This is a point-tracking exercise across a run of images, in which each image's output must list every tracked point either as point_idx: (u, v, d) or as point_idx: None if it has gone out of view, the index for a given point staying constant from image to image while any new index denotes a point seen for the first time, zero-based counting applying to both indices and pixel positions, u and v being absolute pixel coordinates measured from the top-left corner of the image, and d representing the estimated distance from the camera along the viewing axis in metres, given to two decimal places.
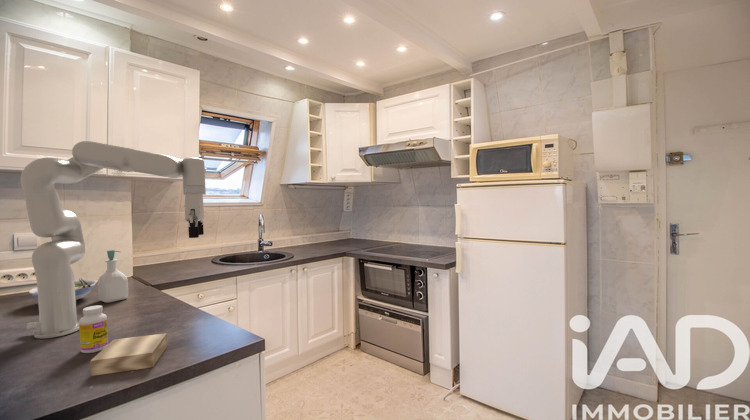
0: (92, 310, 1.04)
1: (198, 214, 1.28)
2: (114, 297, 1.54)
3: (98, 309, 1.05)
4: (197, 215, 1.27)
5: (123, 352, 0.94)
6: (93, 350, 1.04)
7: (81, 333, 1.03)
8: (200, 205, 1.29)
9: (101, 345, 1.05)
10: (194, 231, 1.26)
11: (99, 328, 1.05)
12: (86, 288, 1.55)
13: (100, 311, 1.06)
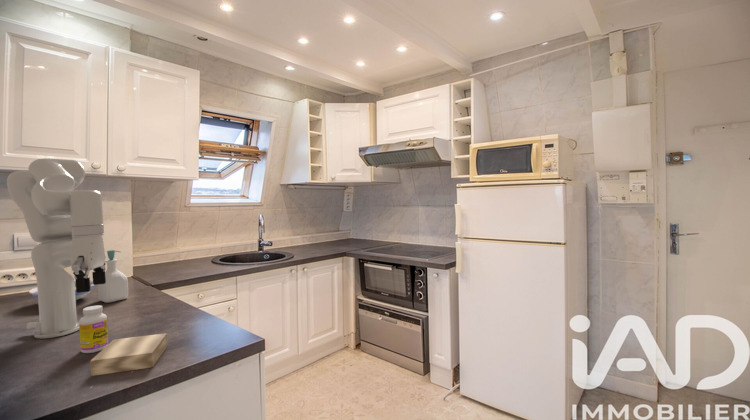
0: (92, 310, 1.04)
1: (89, 262, 1.01)
2: (114, 297, 1.54)
3: (98, 309, 1.05)
4: (87, 263, 1.01)
5: (123, 352, 0.94)
6: (93, 350, 1.04)
7: (81, 333, 1.03)
8: (93, 250, 1.03)
9: (101, 345, 1.05)
10: (83, 284, 1.00)
11: (99, 328, 1.05)
12: None
13: (100, 311, 1.06)
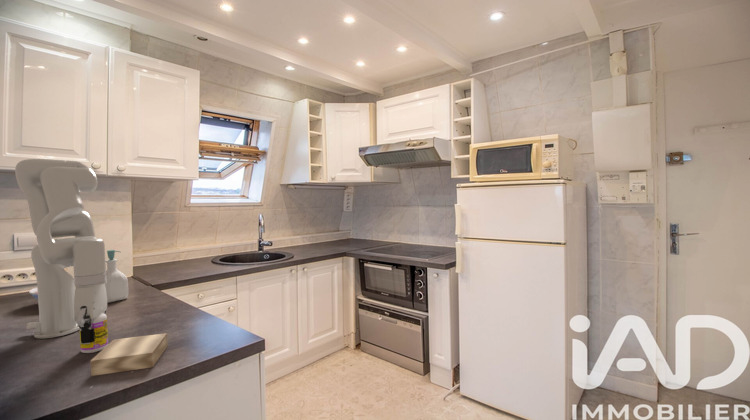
0: None
1: (92, 312, 1.02)
2: (114, 297, 1.54)
3: None
4: (90, 313, 1.01)
5: (123, 352, 0.94)
6: (93, 350, 1.04)
7: None
8: (96, 299, 1.04)
9: (101, 345, 1.05)
10: (87, 335, 1.02)
11: (99, 328, 1.05)
12: None
13: (100, 311, 1.06)
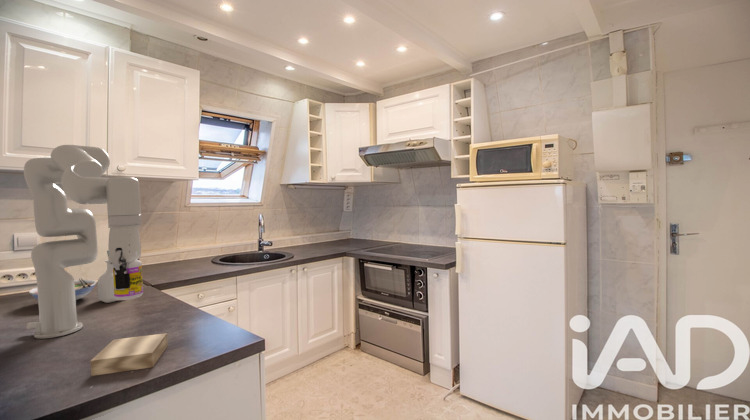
0: None
1: (127, 254, 0.94)
2: None
3: None
4: (126, 256, 0.93)
5: (123, 352, 0.94)
6: (128, 297, 0.95)
7: None
8: (131, 242, 0.95)
9: (137, 292, 0.97)
10: (123, 280, 0.93)
11: (134, 274, 0.96)
12: (86, 288, 1.55)
13: (135, 256, 0.98)
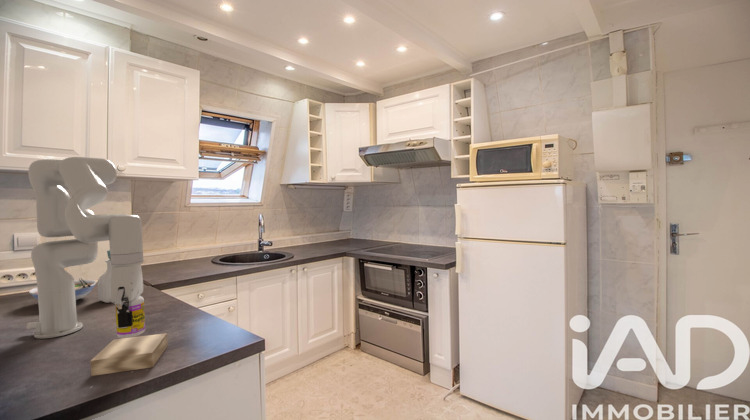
0: None
1: (130, 293, 0.94)
2: None
3: None
4: (128, 295, 0.94)
5: (123, 352, 0.94)
6: (131, 335, 0.96)
7: None
8: (134, 279, 0.96)
9: (139, 329, 0.97)
10: (125, 319, 0.94)
11: (137, 311, 0.97)
12: (86, 288, 1.55)
13: (137, 293, 0.98)
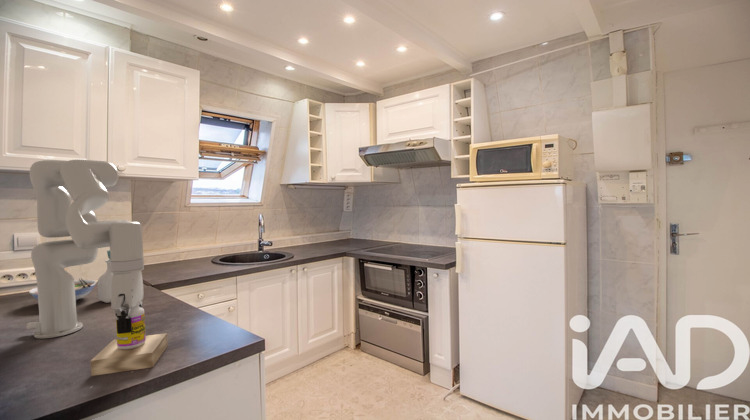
0: None
1: (130, 300, 0.94)
2: None
3: None
4: (128, 302, 0.94)
5: (123, 352, 0.94)
6: (131, 346, 0.96)
7: None
8: (134, 286, 0.96)
9: (139, 341, 0.98)
10: (124, 325, 0.93)
11: (137, 323, 0.97)
12: (86, 288, 1.55)
13: (138, 304, 0.99)
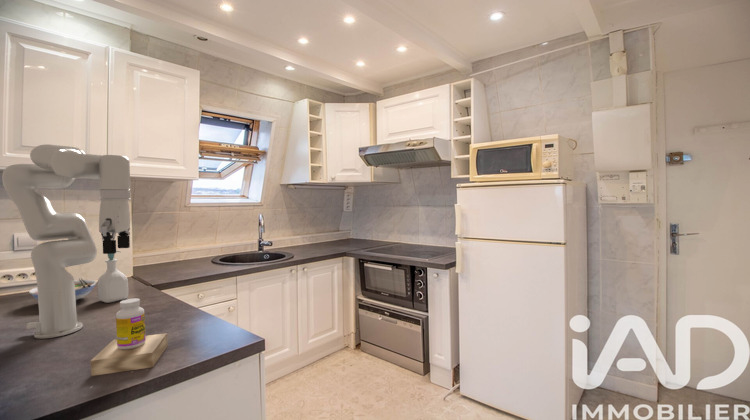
0: (130, 303, 0.97)
1: (116, 225, 1.04)
2: (114, 297, 1.54)
3: (136, 302, 0.98)
4: (114, 226, 1.04)
5: (123, 352, 0.94)
6: (131, 346, 0.96)
7: (118, 328, 0.96)
8: (120, 214, 1.06)
9: (139, 341, 0.98)
10: (109, 246, 1.03)
11: (137, 323, 0.97)
12: (86, 288, 1.55)
13: (138, 304, 0.99)
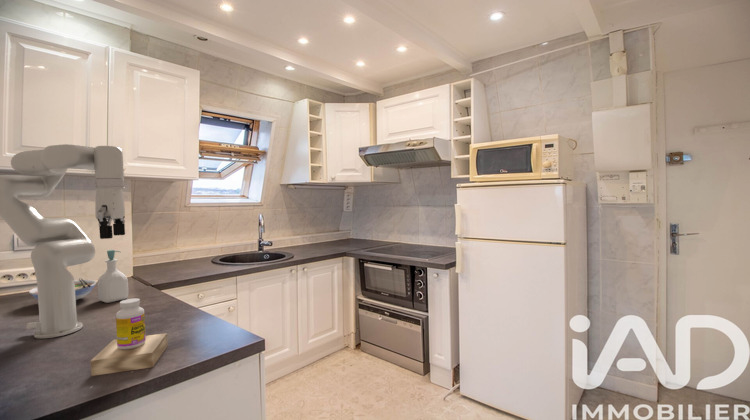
0: (130, 303, 0.97)
1: (111, 211, 1.10)
2: (114, 297, 1.54)
3: (136, 302, 0.98)
4: (110, 212, 1.10)
5: (123, 352, 0.94)
6: (131, 346, 0.96)
7: (118, 328, 0.96)
8: (115, 201, 1.12)
9: (139, 341, 0.98)
10: (106, 231, 1.09)
11: (137, 323, 0.97)
12: (86, 288, 1.55)
13: (138, 304, 0.99)
